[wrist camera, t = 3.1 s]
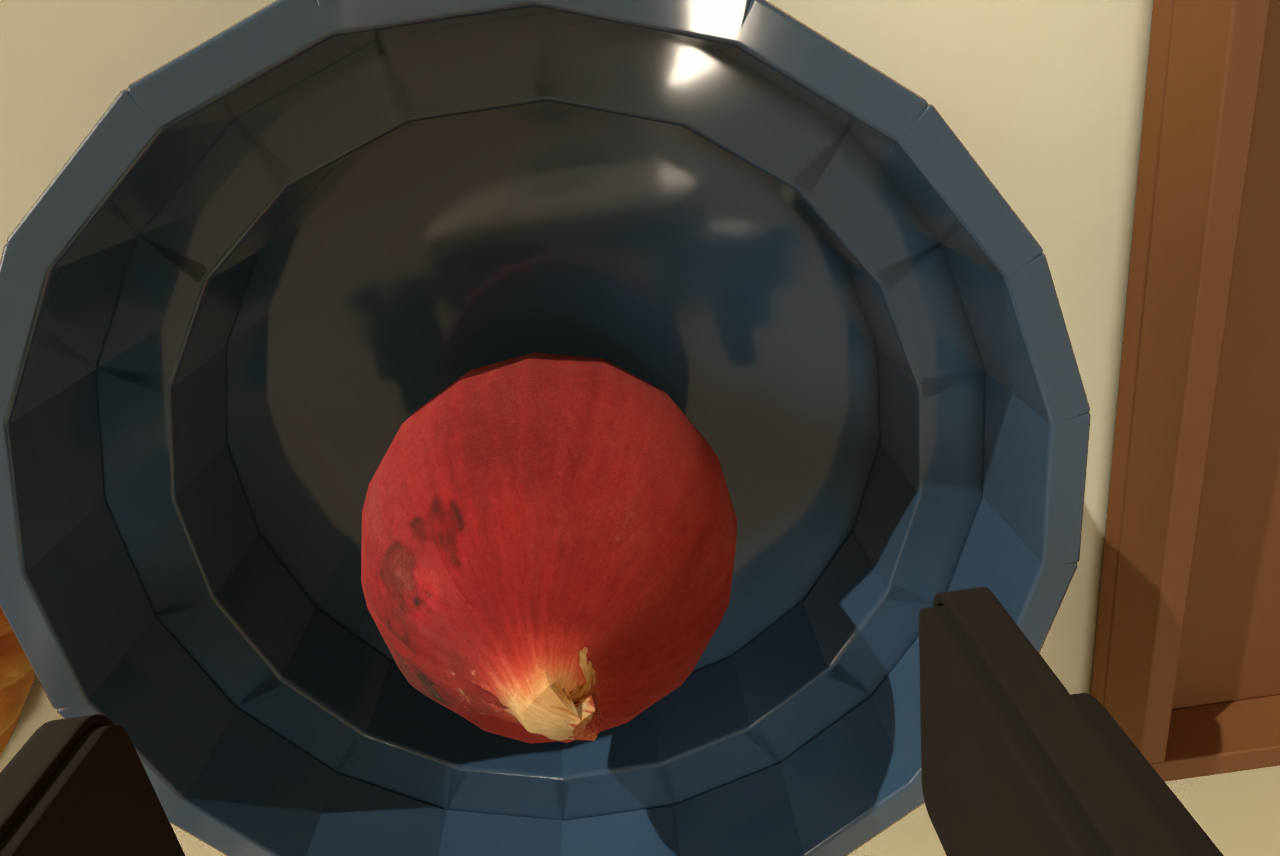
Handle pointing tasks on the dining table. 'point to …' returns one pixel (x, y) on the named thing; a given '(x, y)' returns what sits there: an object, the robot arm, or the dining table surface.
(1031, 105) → the dining table surface
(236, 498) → the bowl
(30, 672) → the pastry
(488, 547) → the onion
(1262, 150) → the tray
